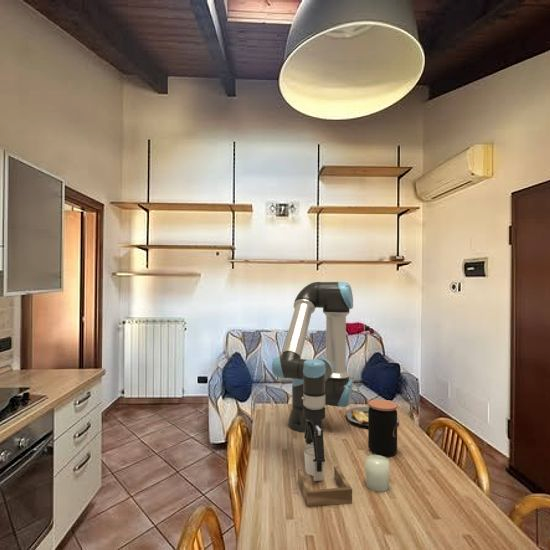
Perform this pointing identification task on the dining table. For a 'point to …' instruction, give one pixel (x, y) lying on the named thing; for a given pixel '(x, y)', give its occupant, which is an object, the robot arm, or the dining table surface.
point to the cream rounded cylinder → (377, 473)
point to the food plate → (359, 415)
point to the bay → (326, 491)
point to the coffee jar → (382, 427)
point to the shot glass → (309, 460)
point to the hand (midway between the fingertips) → (313, 470)
